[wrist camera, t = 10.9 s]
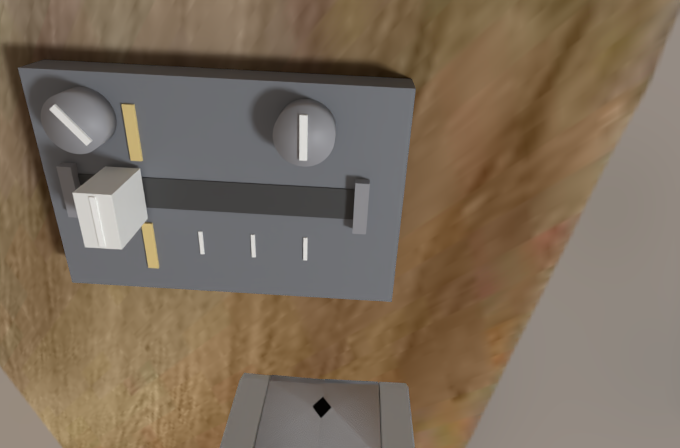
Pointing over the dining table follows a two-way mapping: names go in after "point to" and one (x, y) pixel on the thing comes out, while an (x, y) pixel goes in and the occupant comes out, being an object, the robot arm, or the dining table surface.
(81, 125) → the console
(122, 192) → the fader cap
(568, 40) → the dining table surface
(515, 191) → the dining table surface
